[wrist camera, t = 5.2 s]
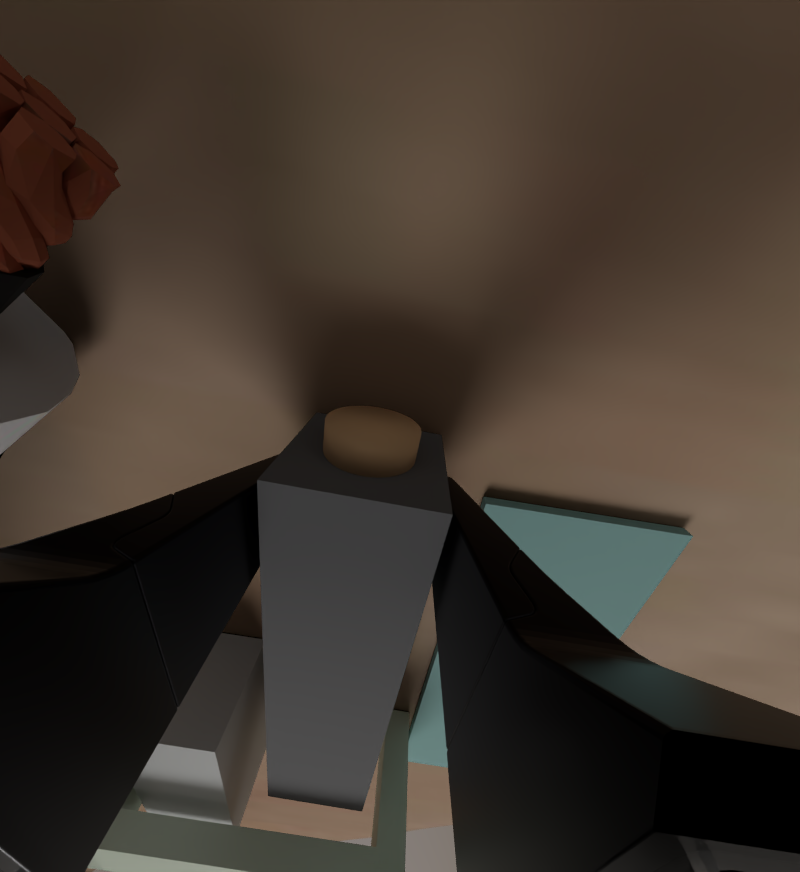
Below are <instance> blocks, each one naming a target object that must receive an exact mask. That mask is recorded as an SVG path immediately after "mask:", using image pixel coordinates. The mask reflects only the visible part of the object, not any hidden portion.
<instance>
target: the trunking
mask: <svg viewBox="0 0 800 872" xmlns="http://www.w3.org/2000/svg"><path fill="white" fill-rule="evenodd" d="M265 750H266V721H265V692H264V664H263V639H258V638H251V637H245V636H238V635H232V634H225V633H221V635H220V636H219V638H218V640H217V642H216V643H215V645H214V647H213V649H212V650H211V652H210V654H209V656H208V657H207V659H206V661H205V662H204V664H203V666H202V668H201V669H200V671H199V673H198V675H197V676H196V678H195V680H194V682H193V683H192V685H191V687H190V689H189V690H188V692H187V694H186V696H185V697H184V699H183V701H182V703H181V704H180V706H179V707H177V712H176V714H175V715H174V717H173V719H172V721H171V722H170V724H169V726H168V727H167V729H166V731H165V733H164V734H163V736H162V738H161V740H160V741H159V743H158V745H157V747H156V748H155V750H154V752H153V754H152V755H151V757H150V759H149V761H148V762H147V764H146V766H145V768H144V769H143V771H142V773H141V775H140V776H139V778H138V780H137V782H136V783H135V785H134V789H135V791H136V793H137V795H138V797H139V798H140V800H141V802H142V804H143V806H144V808H145V810H146V811H147V812H148V813H154V814H161V815H168V816H174V817H181V818H187V819H194V820H201V821H207V822H214V823H220V824H227V825H233V826H240V823H241V820H242V817H243V814H244V811H245V808H246V805H247V802H248V800H249V797H250V794H251V791H252V788H253V785H254V782H255V779H256V776H257V773H258V770H259V767H260V764H261V761H262V759H263V756H264V753H265Z"/></svg>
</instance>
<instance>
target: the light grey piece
mask: <svg viewBox="0 0 800 872" xmlns="http://www.w3.org/2000/svg"><path fill="white" fill-rule="evenodd" d="M408 740H409V712H404V711H397V710H393V711H392V715H391V718H390V721H389V725H388V728H387V731H386V734H385V738H384V741H383V744H382V747H381V751H380V754H379V763H378V774H377V785H376V796H375V807H374V818H373V829H372V841H371V846H365V845H359V844H352V843H345V842H339V841H332V840H326V839H319V838H312V837H306V836H299V835H293V834H286V833H280V832H273V831H266V830H260V829H253V828H247V827H240V826H233V825H227V824H220V823H214V822H207V821H201V820H194V819H187V818H181V817H174V816H168V815H161V814H154V813H148V812H141V811H138V809H139V807H140V806H141V804H142V802H141V800H140V798H139V797H138V795H137V793H136V791H135V789H134V787H133V789H132V790H131V792H130V794H129V796H128V797H127V799H126V801H125V803H124V804H123V806H122V808H121V810H120V811H119V813H118V815H117V817H116V818H115V820H114V822H113V824H112V825H111V827H110V829H109V831H108V832H107V834H106V836H105V837H104V839H103V841H102V843H101V844H100V846H99V848H98V850H97V851H96V853H95V855H94V857H93V858H92V860H91V862H90V864H89V865H88V867H87V868H92V869H99V870H105V871H112V872H405V848H406V812H407V776H408Z"/></svg>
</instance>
